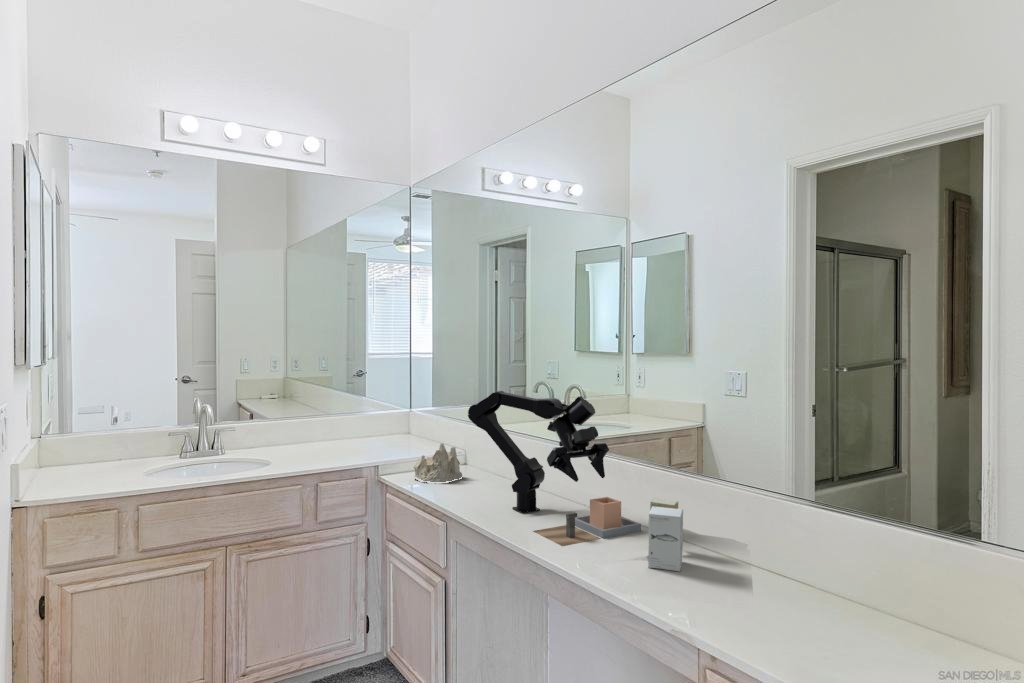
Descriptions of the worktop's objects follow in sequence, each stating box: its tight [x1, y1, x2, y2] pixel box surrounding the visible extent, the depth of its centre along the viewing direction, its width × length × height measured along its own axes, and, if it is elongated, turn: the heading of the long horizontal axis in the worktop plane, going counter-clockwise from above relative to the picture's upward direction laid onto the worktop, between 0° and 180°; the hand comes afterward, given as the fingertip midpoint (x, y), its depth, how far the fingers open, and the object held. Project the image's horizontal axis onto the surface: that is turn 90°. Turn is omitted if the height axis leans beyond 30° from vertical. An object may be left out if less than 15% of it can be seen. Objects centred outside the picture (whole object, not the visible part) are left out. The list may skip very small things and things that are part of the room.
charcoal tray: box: [575, 514, 642, 539], centre depth 167 cm, size 14×13×3 cm
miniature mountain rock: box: [413, 442, 463, 482], centre depth 233 cm, size 16×16×15 cm
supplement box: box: [647, 506, 684, 573], centre depth 143 cm, size 7×7×13 cm
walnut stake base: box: [532, 511, 602, 547], centre depth 161 cm, size 14×12×8 cm
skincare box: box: [649, 497, 679, 511], centre depth 153 cm, size 6×4×12 cm
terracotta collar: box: [589, 496, 622, 530], centre depth 168 cm, size 8×6×8 cm
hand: (590, 479), depth 172 cm, fingers open, 9 cm apart
